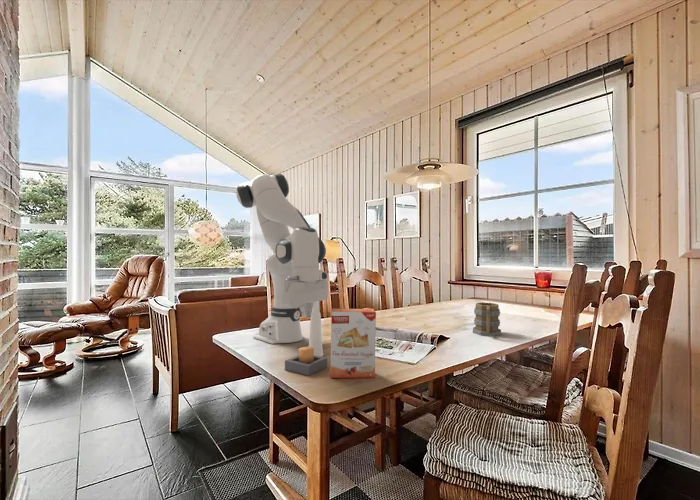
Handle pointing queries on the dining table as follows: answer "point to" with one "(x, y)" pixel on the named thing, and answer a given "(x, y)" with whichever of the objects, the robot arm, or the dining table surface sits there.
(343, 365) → the cracker box
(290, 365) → the gray square tray
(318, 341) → the cosmetic bottle
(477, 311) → the tankard
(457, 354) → the dining table surface
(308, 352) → the button
